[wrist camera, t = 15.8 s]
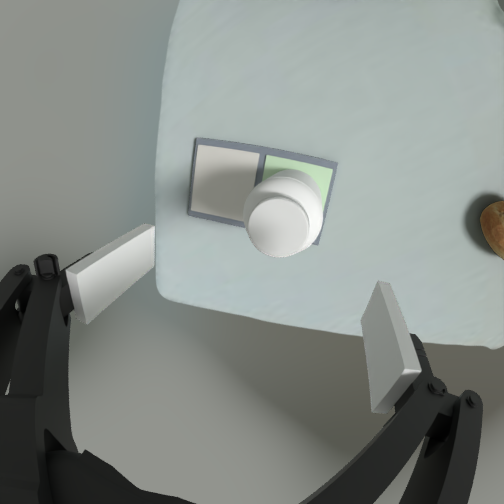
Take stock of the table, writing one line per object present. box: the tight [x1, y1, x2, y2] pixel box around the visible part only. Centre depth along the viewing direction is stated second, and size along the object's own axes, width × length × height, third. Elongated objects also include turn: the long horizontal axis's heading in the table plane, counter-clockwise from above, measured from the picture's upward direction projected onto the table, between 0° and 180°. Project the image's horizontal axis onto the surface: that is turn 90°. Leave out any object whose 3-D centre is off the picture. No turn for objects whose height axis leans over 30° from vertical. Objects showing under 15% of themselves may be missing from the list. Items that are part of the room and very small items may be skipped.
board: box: [188, 138, 338, 245], centre depth 37 cm, size 12×20×1 cm, turn 81°
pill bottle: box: [243, 169, 323, 258], centre depth 29 cm, size 8×8×15 cm
